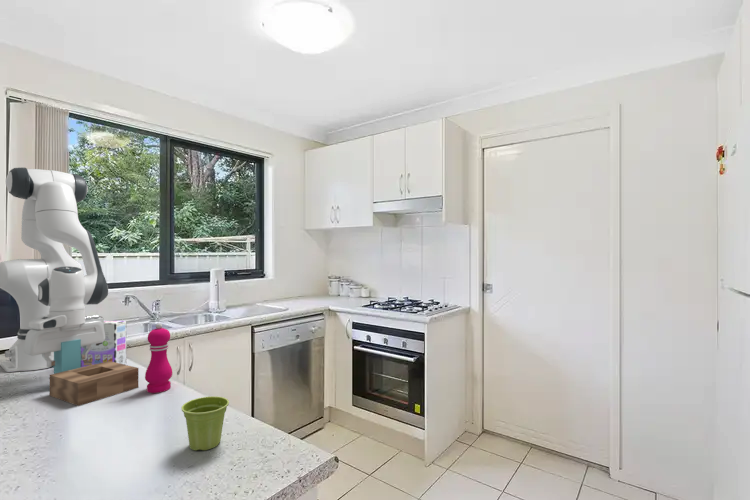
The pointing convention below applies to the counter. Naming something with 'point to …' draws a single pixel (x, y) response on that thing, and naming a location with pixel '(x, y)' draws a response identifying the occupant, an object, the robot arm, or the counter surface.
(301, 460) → the counter surface
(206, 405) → the plant pot
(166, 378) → the pepper mill
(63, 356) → the teal rectangular block
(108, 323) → the candy box
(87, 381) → the wooden holder
